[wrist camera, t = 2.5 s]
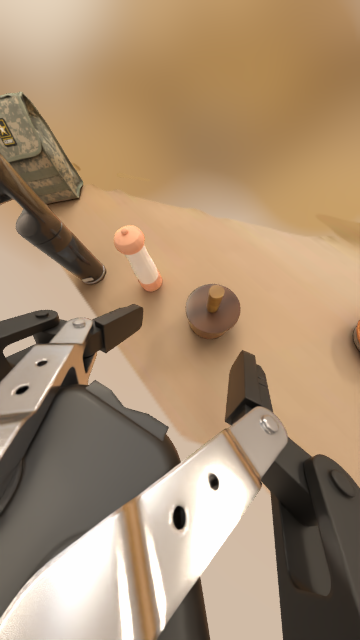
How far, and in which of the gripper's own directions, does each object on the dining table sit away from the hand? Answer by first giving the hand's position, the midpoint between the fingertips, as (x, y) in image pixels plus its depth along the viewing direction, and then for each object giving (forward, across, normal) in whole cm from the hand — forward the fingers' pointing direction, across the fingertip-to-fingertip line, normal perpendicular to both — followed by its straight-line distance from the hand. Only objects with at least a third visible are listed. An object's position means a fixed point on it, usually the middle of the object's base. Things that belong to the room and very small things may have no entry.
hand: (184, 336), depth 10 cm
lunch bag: (+52, +94, -13) cm, 109 cm away
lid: (+22, 0, +6) cm, 23 cm away
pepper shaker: (+32, +23, +8) cm, 40 cm away
